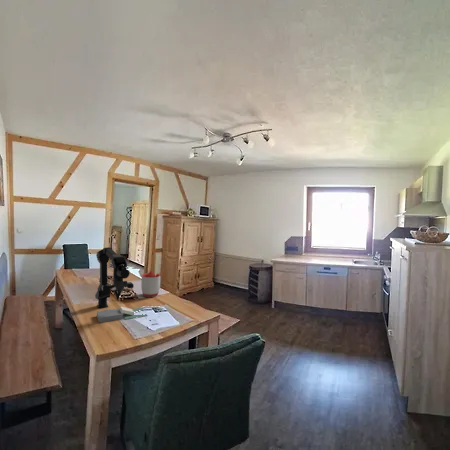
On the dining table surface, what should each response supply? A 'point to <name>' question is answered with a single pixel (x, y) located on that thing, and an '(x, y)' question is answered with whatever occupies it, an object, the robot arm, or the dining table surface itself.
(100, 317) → the plate
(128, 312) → the tile
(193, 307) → the dining table surface
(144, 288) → the citrus juicer
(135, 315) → the mat
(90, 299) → the dining table surface
